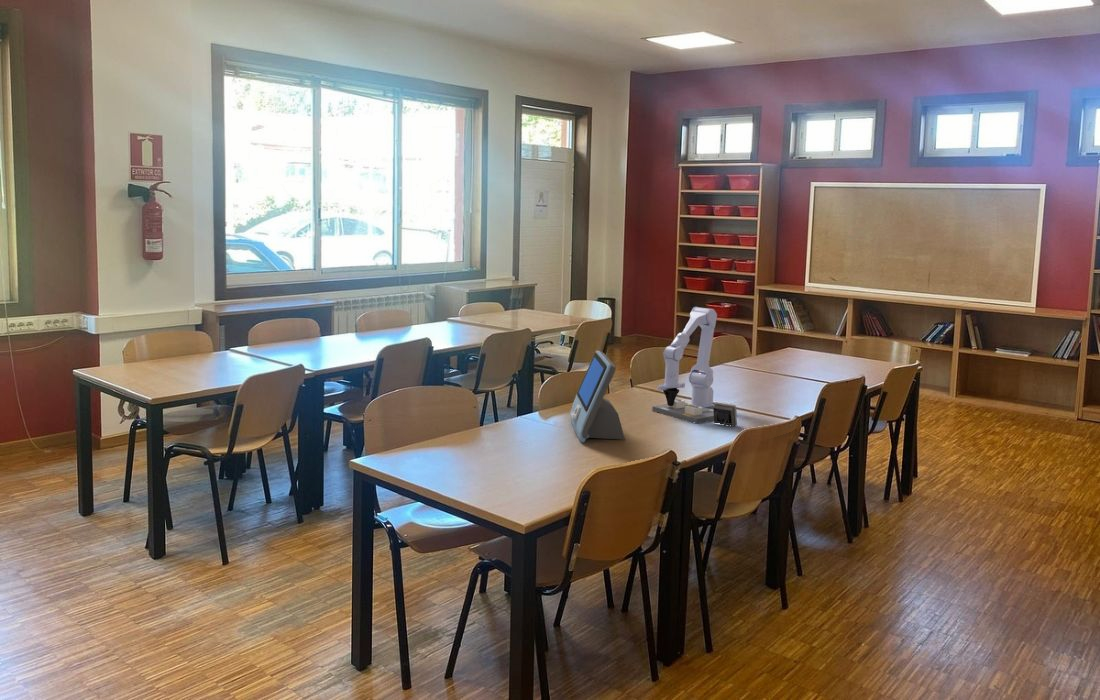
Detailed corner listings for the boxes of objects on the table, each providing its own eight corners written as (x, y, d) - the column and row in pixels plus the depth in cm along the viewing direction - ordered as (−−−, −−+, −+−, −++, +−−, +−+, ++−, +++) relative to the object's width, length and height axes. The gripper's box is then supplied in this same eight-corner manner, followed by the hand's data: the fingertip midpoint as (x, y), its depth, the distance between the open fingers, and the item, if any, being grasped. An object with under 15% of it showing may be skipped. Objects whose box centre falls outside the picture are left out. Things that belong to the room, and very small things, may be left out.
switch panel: (681, 406, 384) (682, 401, 383) (726, 418, 363) (726, 413, 363) (652, 410, 373) (652, 406, 373) (696, 423, 352) (696, 418, 352)
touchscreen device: (565, 420, 352) (570, 347, 347) (613, 422, 354) (618, 350, 349) (575, 443, 318) (580, 363, 313) (627, 445, 319) (633, 365, 315)
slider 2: (693, 411, 364) (693, 403, 363) (702, 414, 360) (702, 405, 359) (684, 413, 361) (685, 404, 360) (693, 415, 357) (694, 407, 356)
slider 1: (676, 405, 376) (676, 397, 375) (684, 407, 372) (685, 399, 371) (668, 406, 373) (668, 398, 372) (676, 408, 369) (676, 400, 368)
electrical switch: (737, 425, 351) (737, 404, 349) (732, 429, 347) (733, 407, 344) (715, 422, 356) (716, 400, 354) (710, 426, 352) (711, 404, 349)
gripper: (666, 377, 360) (664, 409, 362) (690, 374, 369) (688, 405, 371) (654, 374, 366) (653, 405, 368) (678, 371, 374) (677, 402, 377)
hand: (670, 405), depth 370 cm, fingers closed
